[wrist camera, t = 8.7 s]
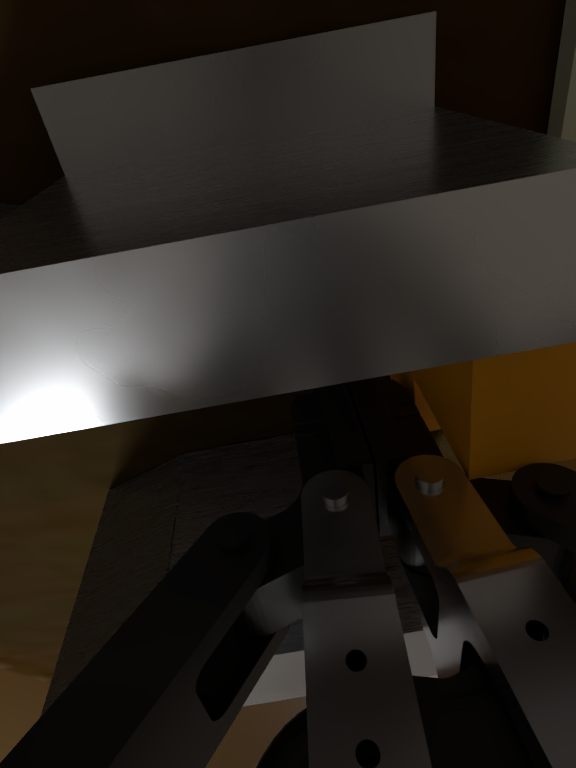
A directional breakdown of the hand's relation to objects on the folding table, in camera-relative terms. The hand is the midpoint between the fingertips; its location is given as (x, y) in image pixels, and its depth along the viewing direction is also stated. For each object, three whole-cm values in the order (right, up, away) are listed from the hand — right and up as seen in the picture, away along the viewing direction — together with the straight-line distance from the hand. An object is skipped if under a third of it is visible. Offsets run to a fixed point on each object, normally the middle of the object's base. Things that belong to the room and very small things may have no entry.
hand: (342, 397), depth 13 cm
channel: (-3, +1, +1) cm, 4 cm away
